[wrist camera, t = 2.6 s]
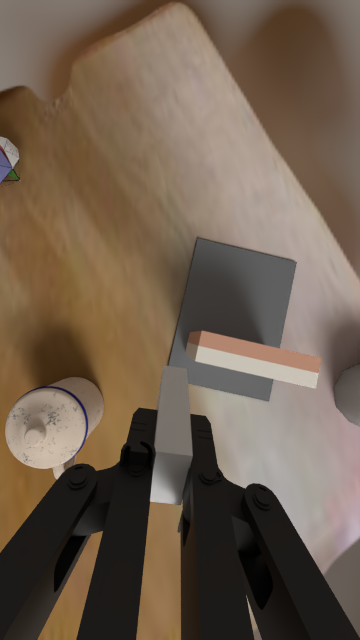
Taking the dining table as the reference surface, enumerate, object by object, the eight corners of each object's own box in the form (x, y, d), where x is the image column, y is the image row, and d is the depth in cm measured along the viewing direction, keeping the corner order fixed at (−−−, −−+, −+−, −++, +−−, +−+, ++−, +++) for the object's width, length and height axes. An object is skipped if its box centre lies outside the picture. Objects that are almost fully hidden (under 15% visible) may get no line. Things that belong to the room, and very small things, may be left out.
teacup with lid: (40, 379, 37) (-18, 399, 26) (102, 370, 38) (73, 386, 26) (48, 462, 37) (-8, 521, 25) (111, 452, 37) (85, 506, 25)
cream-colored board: (262, 369, 38) (315, 388, 24) (185, 351, 38) (195, 361, 24) (266, 350, 39) (321, 358, 25) (189, 332, 38) (201, 330, 24)
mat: (267, 400, 39) (268, 401, 38) (165, 377, 38) (165, 378, 38) (295, 262, 40) (296, 262, 40) (197, 239, 40) (197, 238, 39)
